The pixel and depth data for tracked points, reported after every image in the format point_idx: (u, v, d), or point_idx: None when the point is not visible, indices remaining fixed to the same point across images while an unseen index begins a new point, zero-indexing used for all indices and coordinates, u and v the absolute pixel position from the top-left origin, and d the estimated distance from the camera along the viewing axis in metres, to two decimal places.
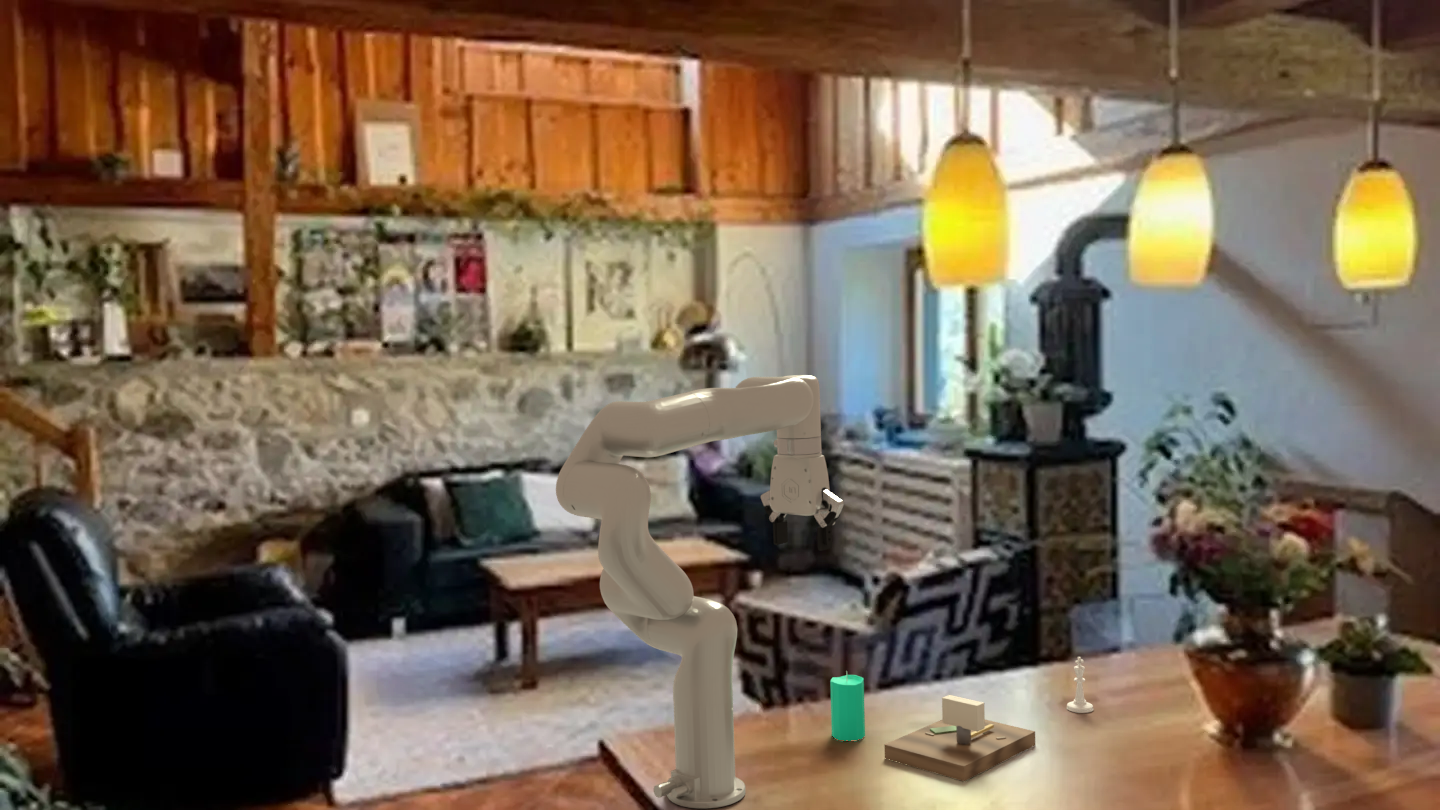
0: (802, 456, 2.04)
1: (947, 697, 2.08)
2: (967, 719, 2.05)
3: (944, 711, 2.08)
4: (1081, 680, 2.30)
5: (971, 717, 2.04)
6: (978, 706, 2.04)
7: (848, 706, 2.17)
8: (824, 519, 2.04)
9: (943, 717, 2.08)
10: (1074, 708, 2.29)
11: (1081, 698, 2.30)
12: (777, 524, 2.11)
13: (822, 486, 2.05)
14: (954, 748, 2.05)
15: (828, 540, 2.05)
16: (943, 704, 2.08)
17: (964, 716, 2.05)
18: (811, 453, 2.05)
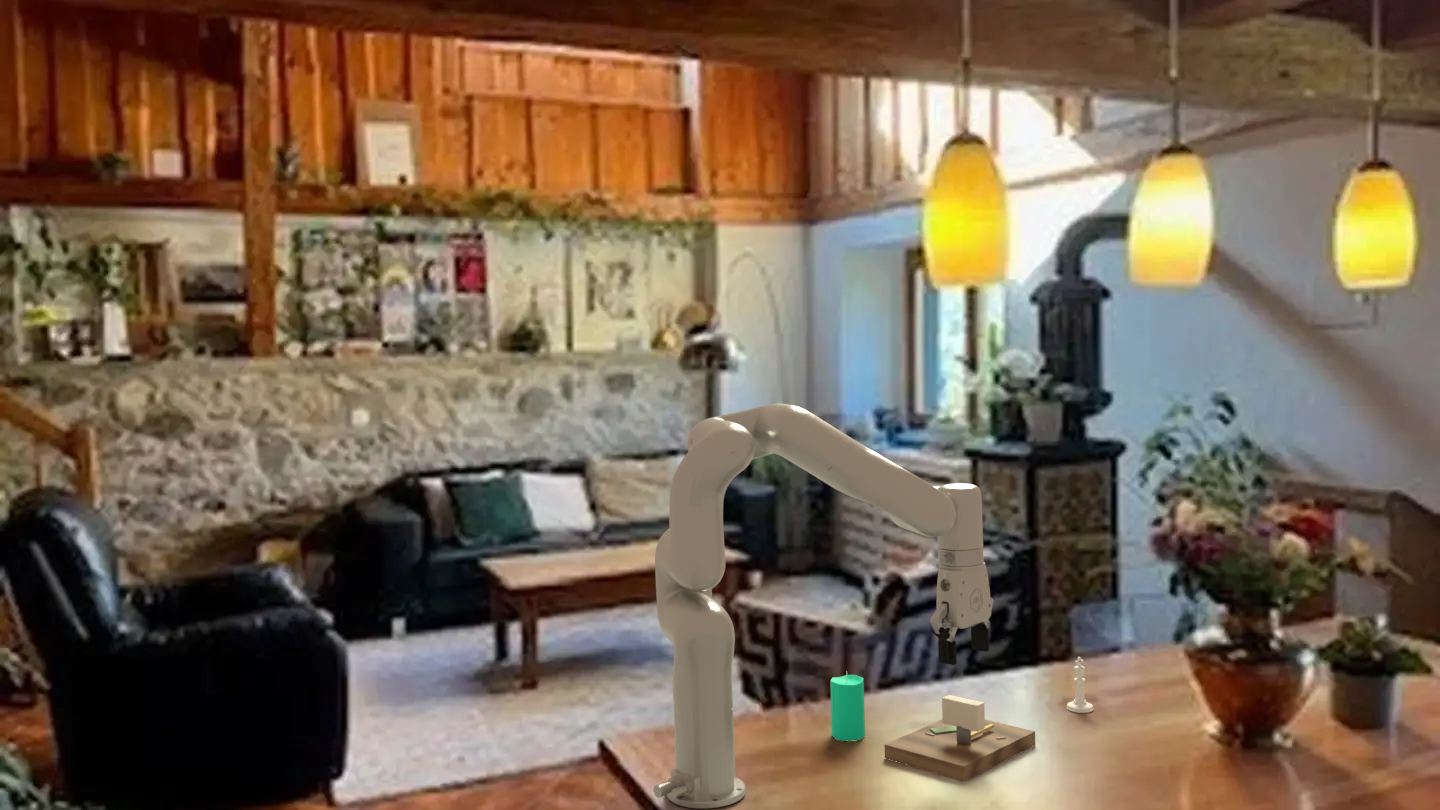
0: None
1: (947, 697, 2.08)
2: (967, 719, 2.05)
3: (944, 711, 2.08)
4: (1081, 680, 2.30)
5: (971, 717, 2.04)
6: (978, 706, 2.04)
7: (848, 706, 2.17)
8: (987, 619, 2.09)
9: (943, 717, 2.08)
10: (1074, 708, 2.29)
11: (1081, 698, 2.30)
12: None
13: None
14: (954, 748, 2.05)
15: None
16: (943, 704, 2.08)
17: (964, 716, 2.05)
18: None
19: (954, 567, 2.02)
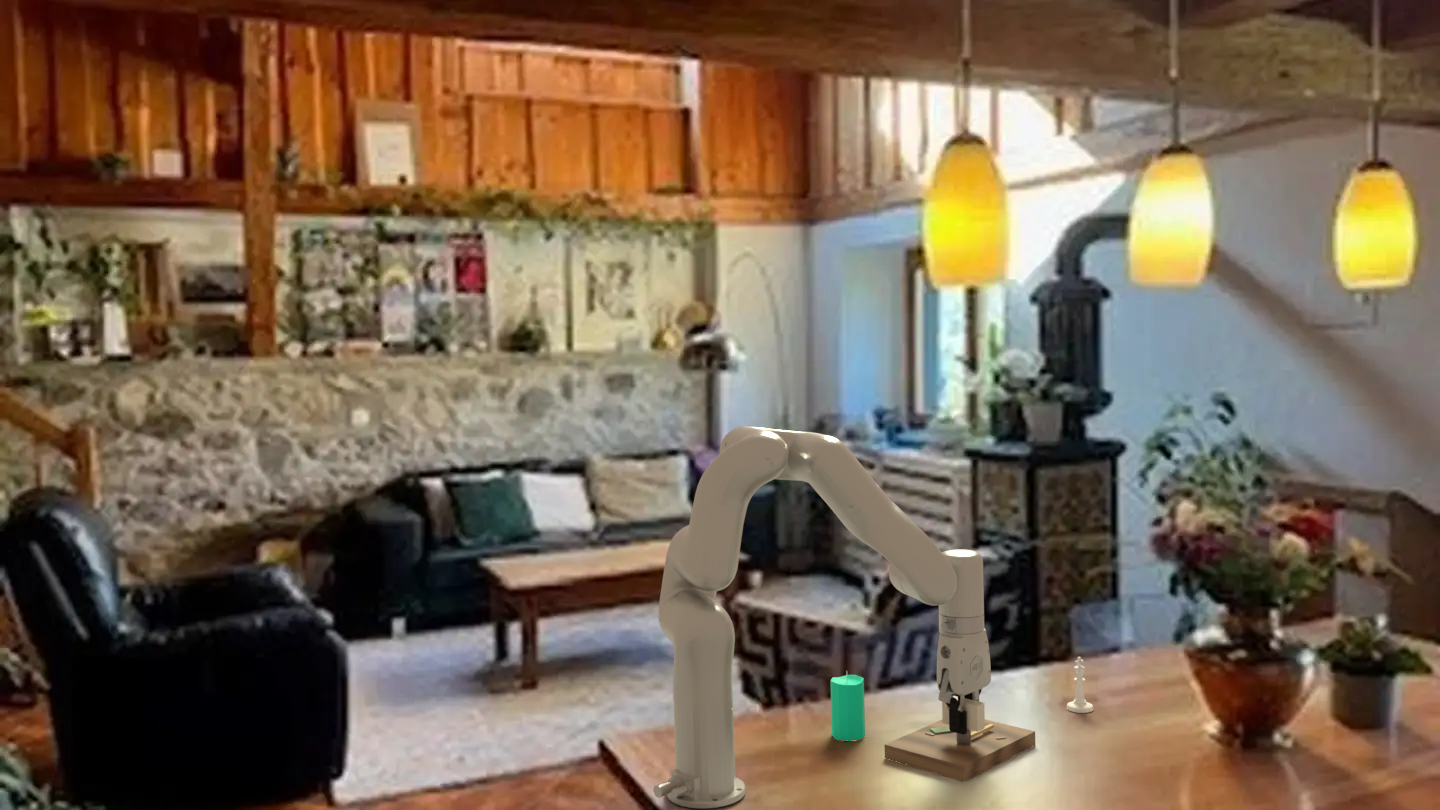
0: (983, 629, 2.06)
1: None
2: (967, 719, 2.05)
3: (944, 711, 2.08)
4: (1081, 680, 2.30)
5: (971, 717, 2.04)
6: (978, 706, 2.04)
7: (848, 706, 2.17)
8: None
9: (943, 717, 2.08)
10: (1074, 708, 2.29)
11: (1081, 698, 2.30)
12: None
13: None
14: (954, 748, 2.05)
15: None
16: (943, 704, 2.08)
17: None
18: None
19: (955, 634, 2.03)
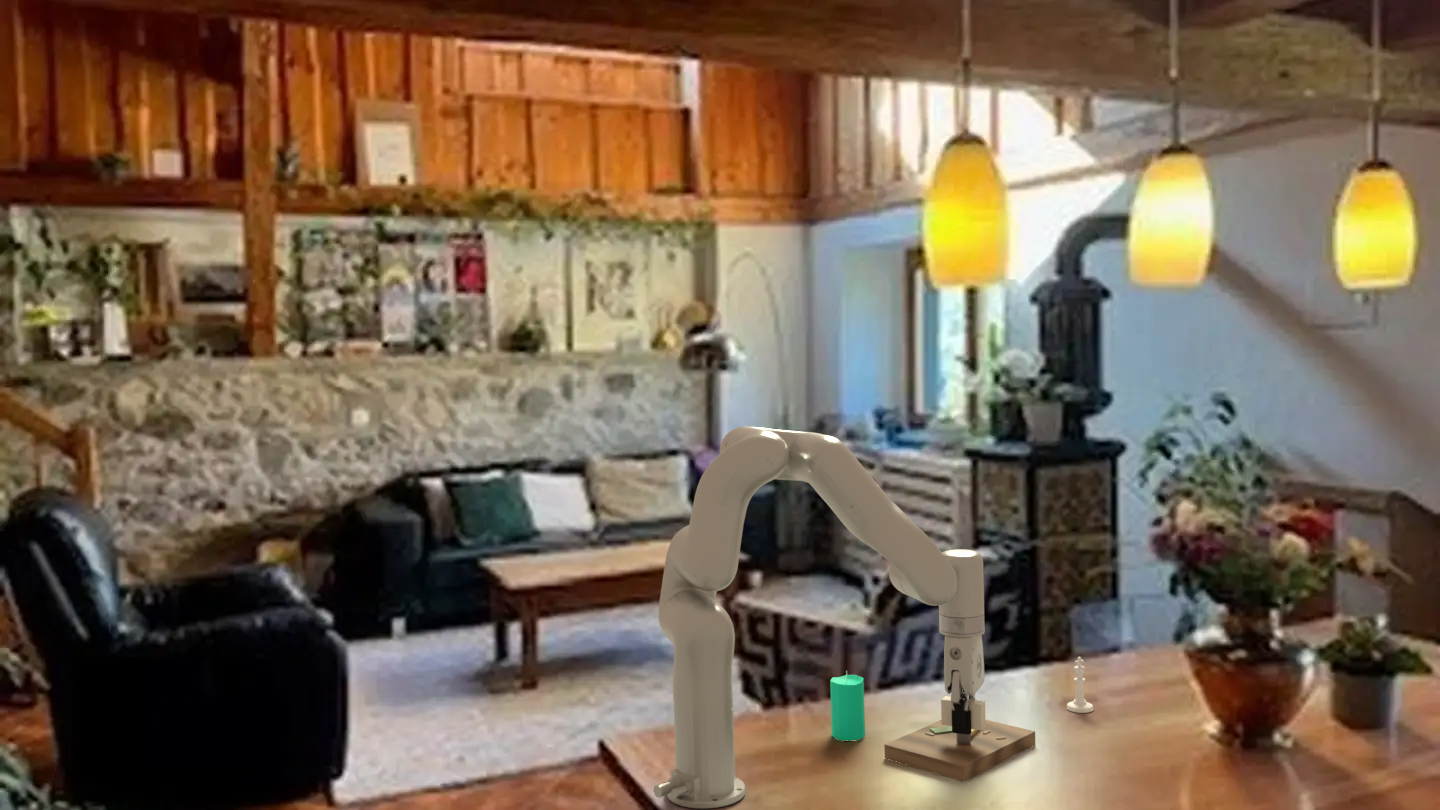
0: None
1: (946, 698, 2.08)
2: None
3: (943, 712, 2.07)
4: (1081, 680, 2.30)
5: (974, 716, 2.05)
6: (981, 705, 2.04)
7: (848, 706, 2.17)
8: None
9: (942, 719, 2.08)
10: (1074, 708, 2.29)
11: (1081, 698, 2.30)
12: None
13: None
14: (954, 748, 2.05)
15: None
16: (942, 706, 2.07)
17: None
18: None
19: (963, 635, 2.02)
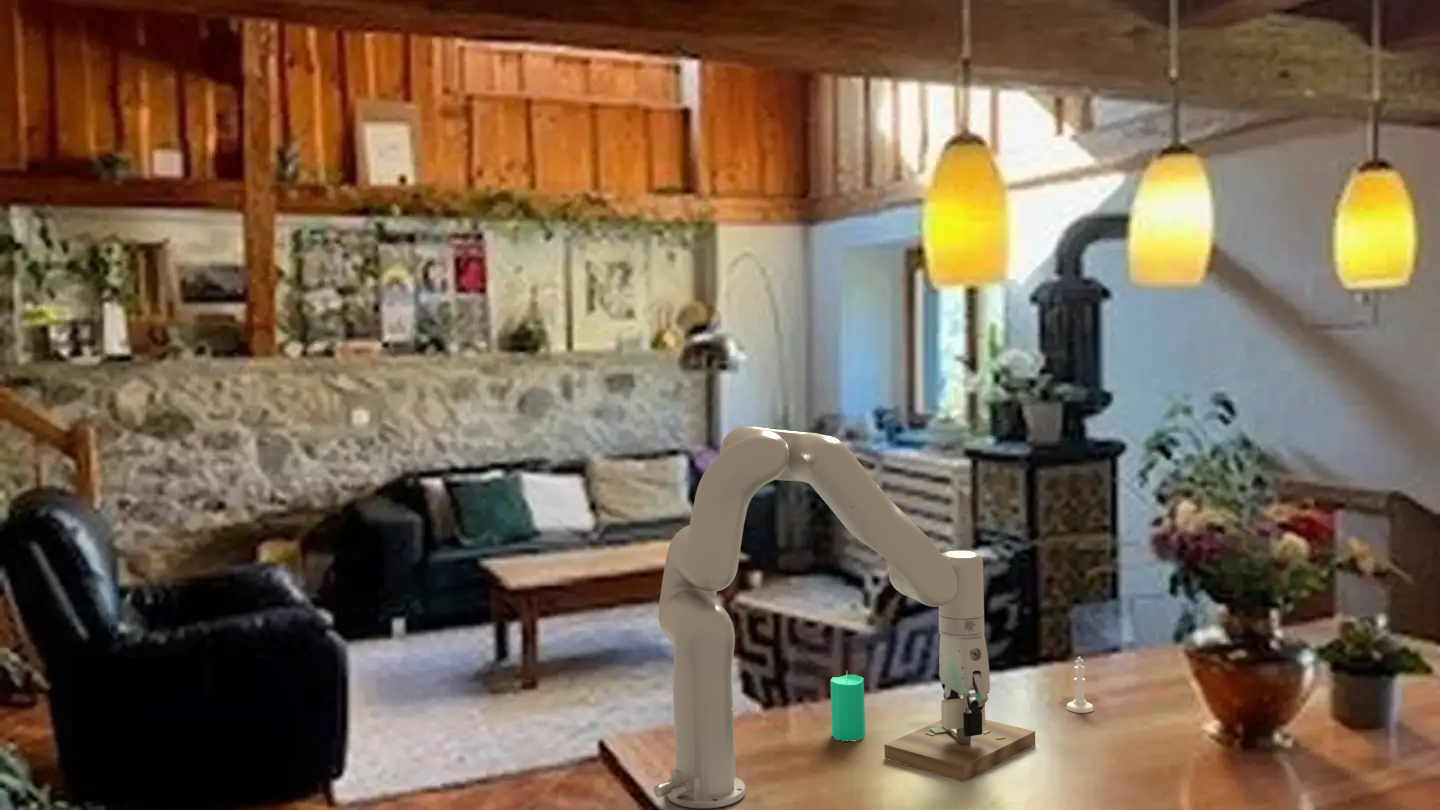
0: None
1: (948, 702, 2.06)
2: None
3: (949, 717, 2.05)
4: (1081, 680, 2.30)
5: None
6: None
7: (848, 706, 2.17)
8: (956, 691, 2.11)
9: (948, 724, 2.05)
10: (1074, 708, 2.29)
11: (1081, 698, 2.30)
12: None
13: None
14: (954, 748, 2.05)
15: None
16: (947, 710, 2.05)
17: None
18: None
19: (977, 634, 2.03)
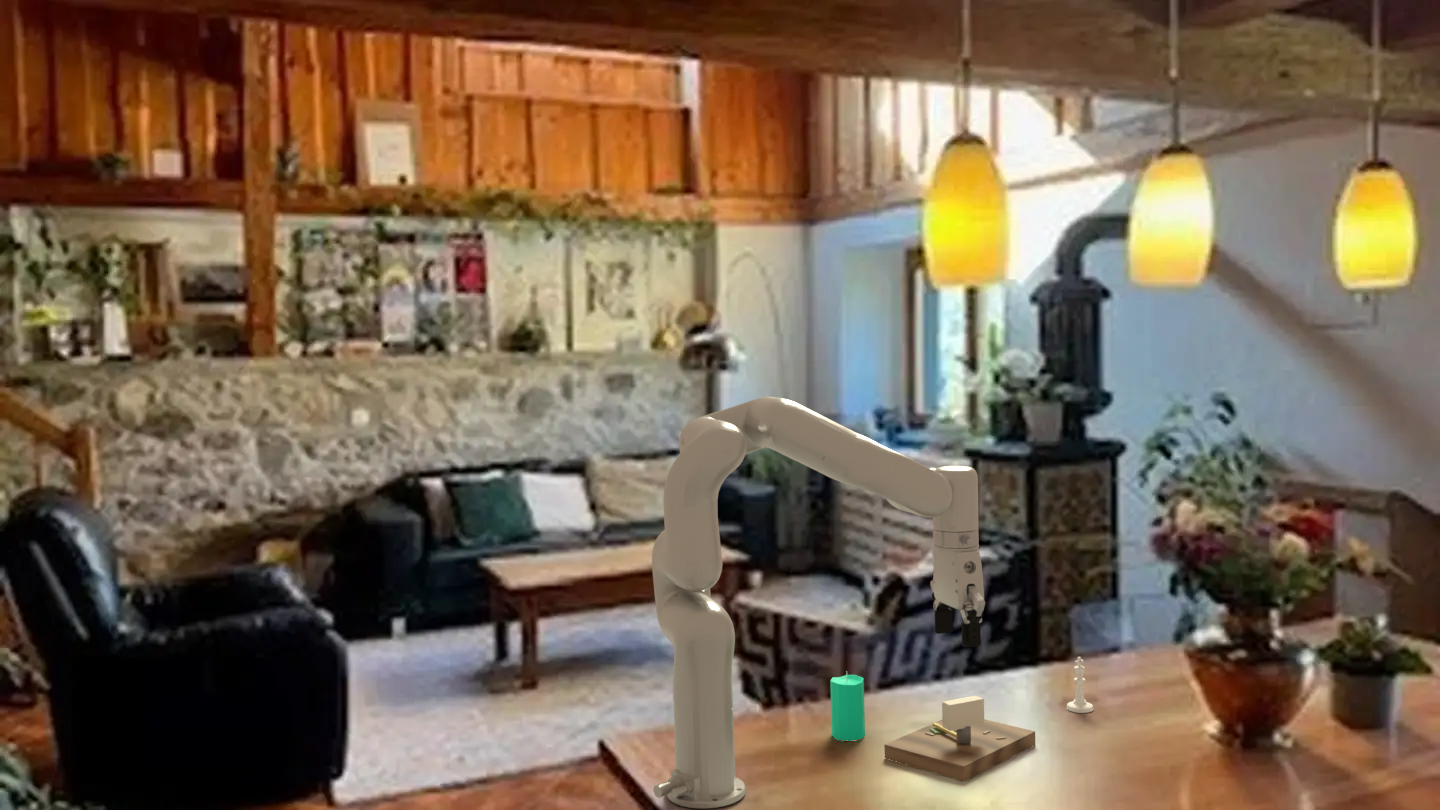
0: None
1: (950, 703, 2.05)
2: (974, 716, 2.06)
3: (952, 718, 2.05)
4: (1081, 680, 2.30)
5: (978, 712, 2.07)
6: (982, 699, 2.07)
7: (848, 706, 2.17)
8: None
9: (951, 725, 2.04)
10: (1074, 708, 2.29)
11: (1081, 698, 2.30)
12: None
13: None
14: (954, 748, 2.05)
15: None
16: (951, 711, 2.04)
17: (971, 714, 2.06)
18: None
19: (971, 548, 2.02)
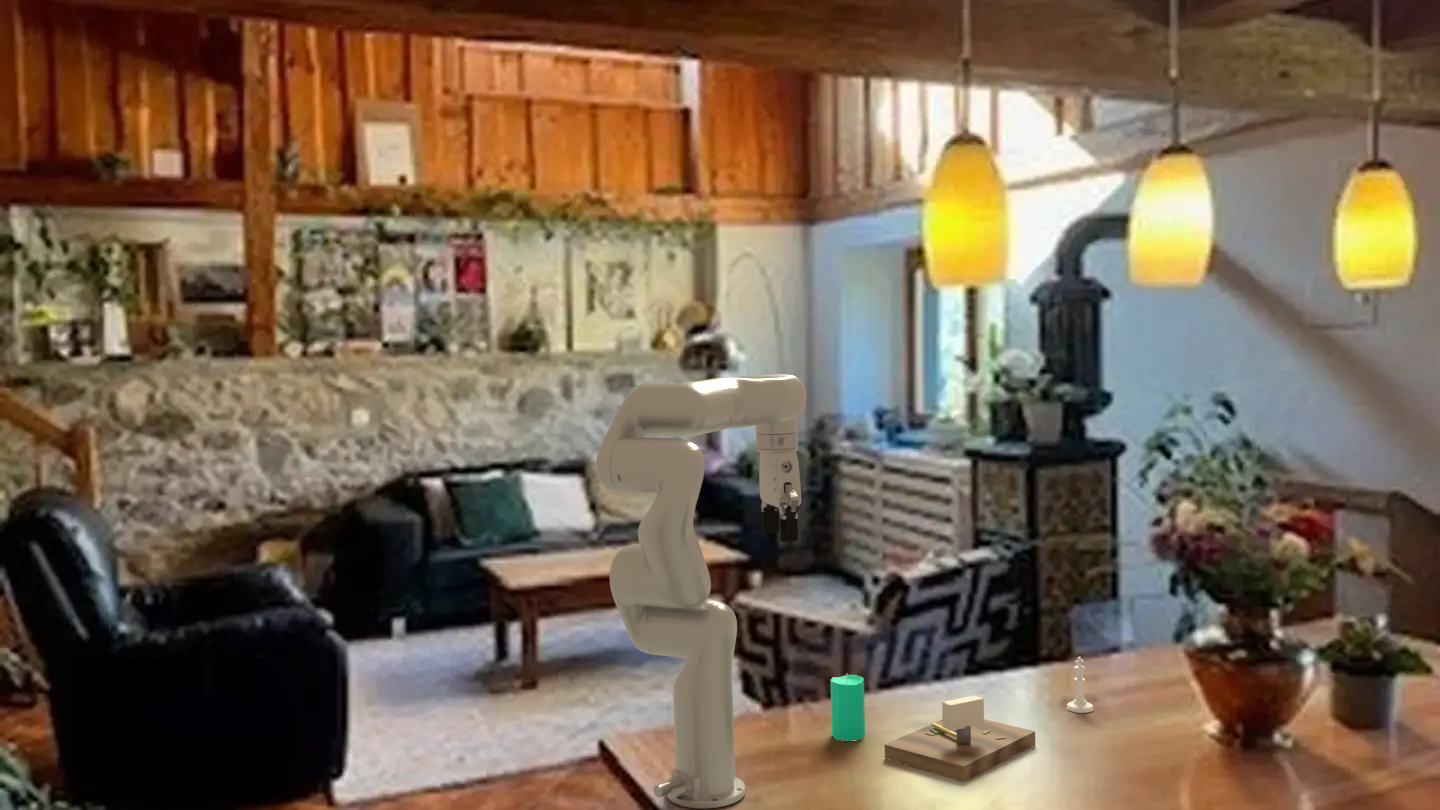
0: None
1: (950, 703, 2.05)
2: (974, 716, 2.06)
3: (952, 718, 2.04)
4: (1081, 680, 2.30)
5: (978, 712, 2.07)
6: (982, 699, 2.08)
7: (848, 706, 2.17)
8: None
9: (951, 725, 2.04)
10: (1074, 708, 2.29)
11: (1081, 698, 2.30)
12: None
13: None
14: (954, 748, 2.05)
15: None
16: (951, 711, 2.04)
17: (971, 714, 2.06)
18: None
19: (789, 449, 2.16)
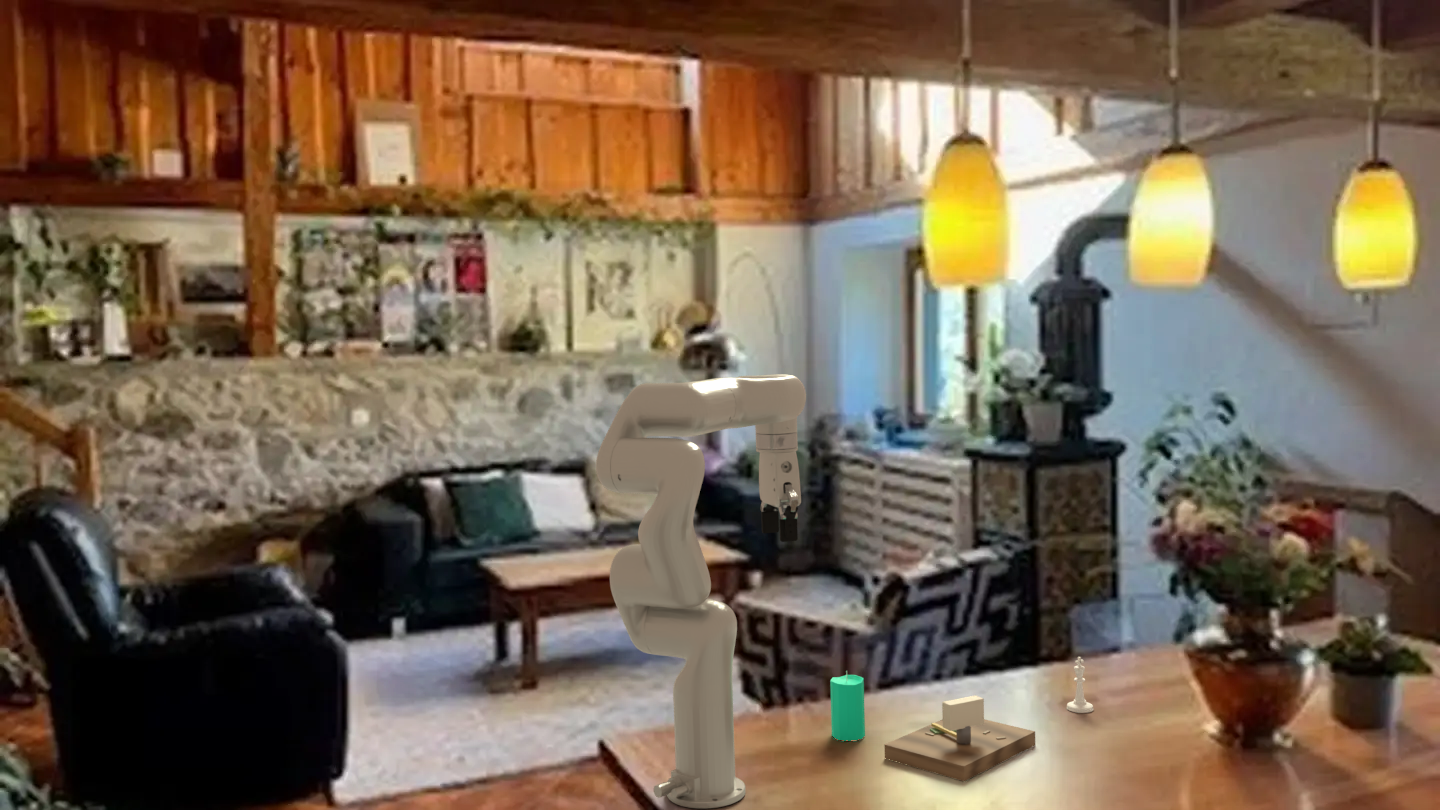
0: None
1: (950, 703, 2.05)
2: (974, 716, 2.06)
3: (952, 718, 2.04)
4: (1081, 680, 2.30)
5: (978, 712, 2.07)
6: (982, 699, 2.08)
7: (848, 706, 2.17)
8: None
9: (951, 725, 2.04)
10: (1074, 708, 2.29)
11: (1081, 698, 2.30)
12: None
13: None
14: (954, 748, 2.05)
15: None
16: (951, 711, 2.04)
17: (971, 714, 2.06)
18: None
19: (789, 449, 2.16)
